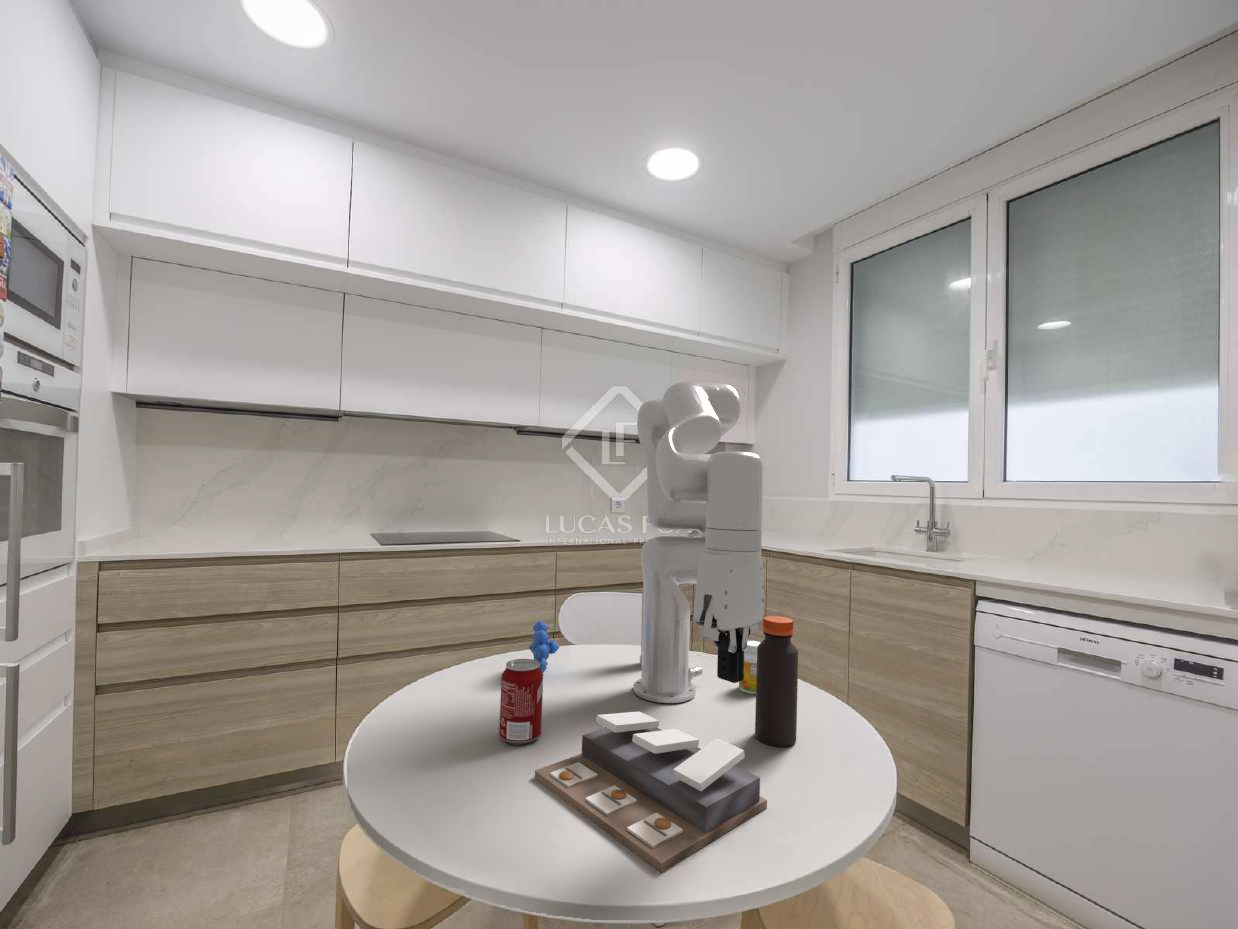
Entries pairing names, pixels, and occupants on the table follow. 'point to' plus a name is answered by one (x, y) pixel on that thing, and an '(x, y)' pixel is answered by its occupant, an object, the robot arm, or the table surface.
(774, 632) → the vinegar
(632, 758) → the rocker switch unit
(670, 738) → the rocker middle
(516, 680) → the soda can
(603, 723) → the rocker far
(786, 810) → the table surface
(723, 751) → the rocker near
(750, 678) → the supplement bottle
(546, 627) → the grapes
